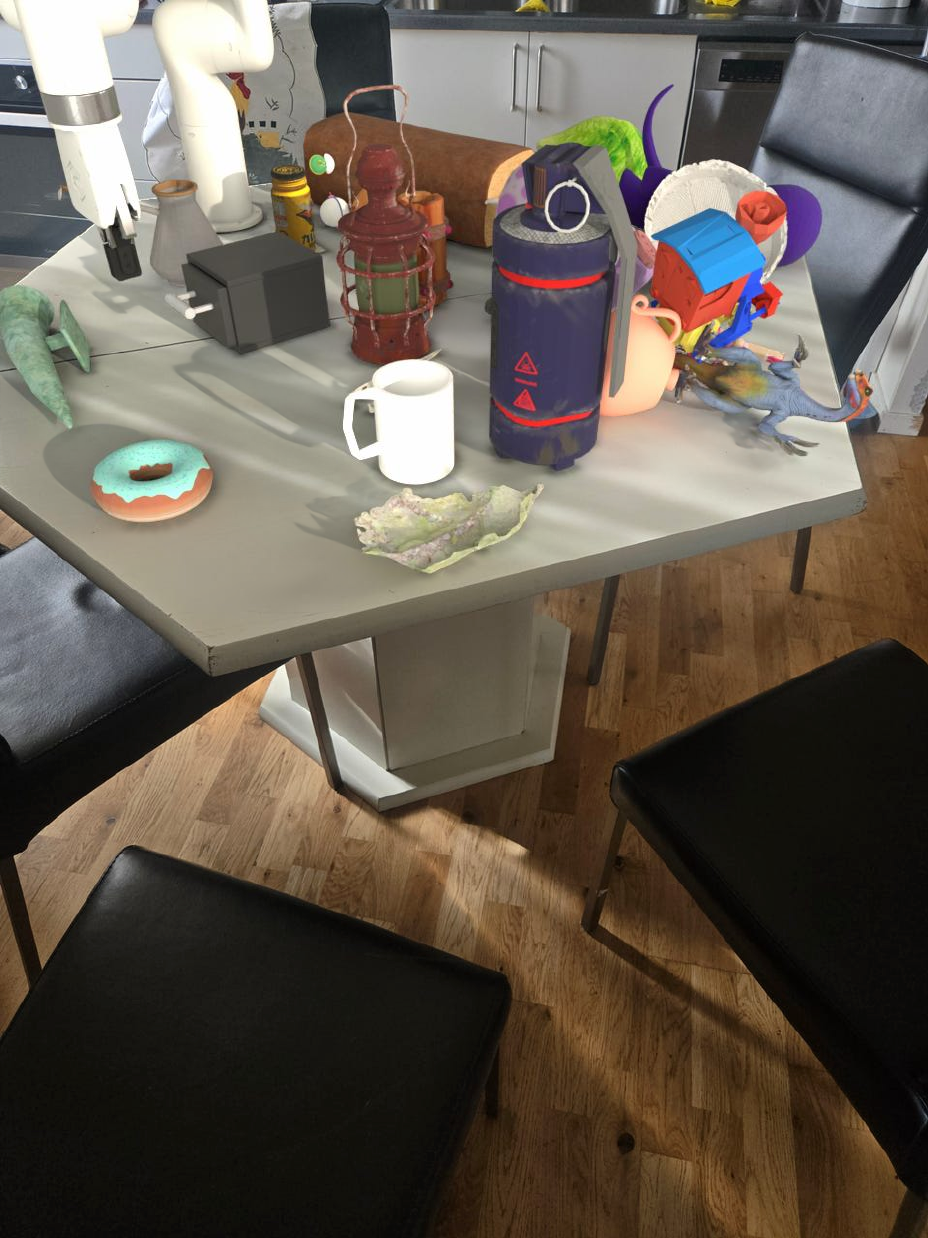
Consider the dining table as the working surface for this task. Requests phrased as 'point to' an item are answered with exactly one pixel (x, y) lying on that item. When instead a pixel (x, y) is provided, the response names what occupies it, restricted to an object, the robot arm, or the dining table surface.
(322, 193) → the bread
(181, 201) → the coffee pot
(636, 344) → the sugar bowl
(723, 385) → the toy dinosaur
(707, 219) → the toy train
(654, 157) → the toy
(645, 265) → the toy
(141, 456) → the donut
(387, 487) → the dining table surface
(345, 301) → the lantern
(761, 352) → the toy
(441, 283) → the mug
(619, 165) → the lettuce
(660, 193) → the food container
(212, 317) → the drawer
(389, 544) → the cabbage leaf
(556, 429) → the canister
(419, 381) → the cup
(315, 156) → the toy
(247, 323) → the cabinet
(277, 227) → the condiment
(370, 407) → the jawbone
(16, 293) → the decorative horn
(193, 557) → the dining table surface
